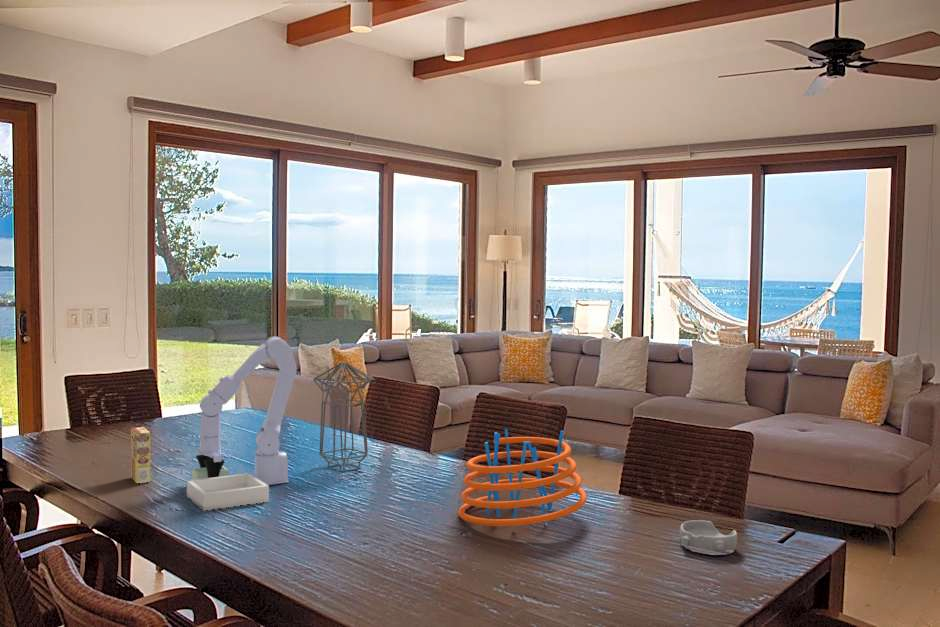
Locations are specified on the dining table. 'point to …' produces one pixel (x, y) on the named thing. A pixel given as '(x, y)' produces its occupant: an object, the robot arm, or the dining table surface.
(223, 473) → the green crate
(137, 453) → the candy box
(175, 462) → the dining table surface
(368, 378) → the geometric lantern
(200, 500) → the white crate
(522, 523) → the toy basket
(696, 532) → the dish
